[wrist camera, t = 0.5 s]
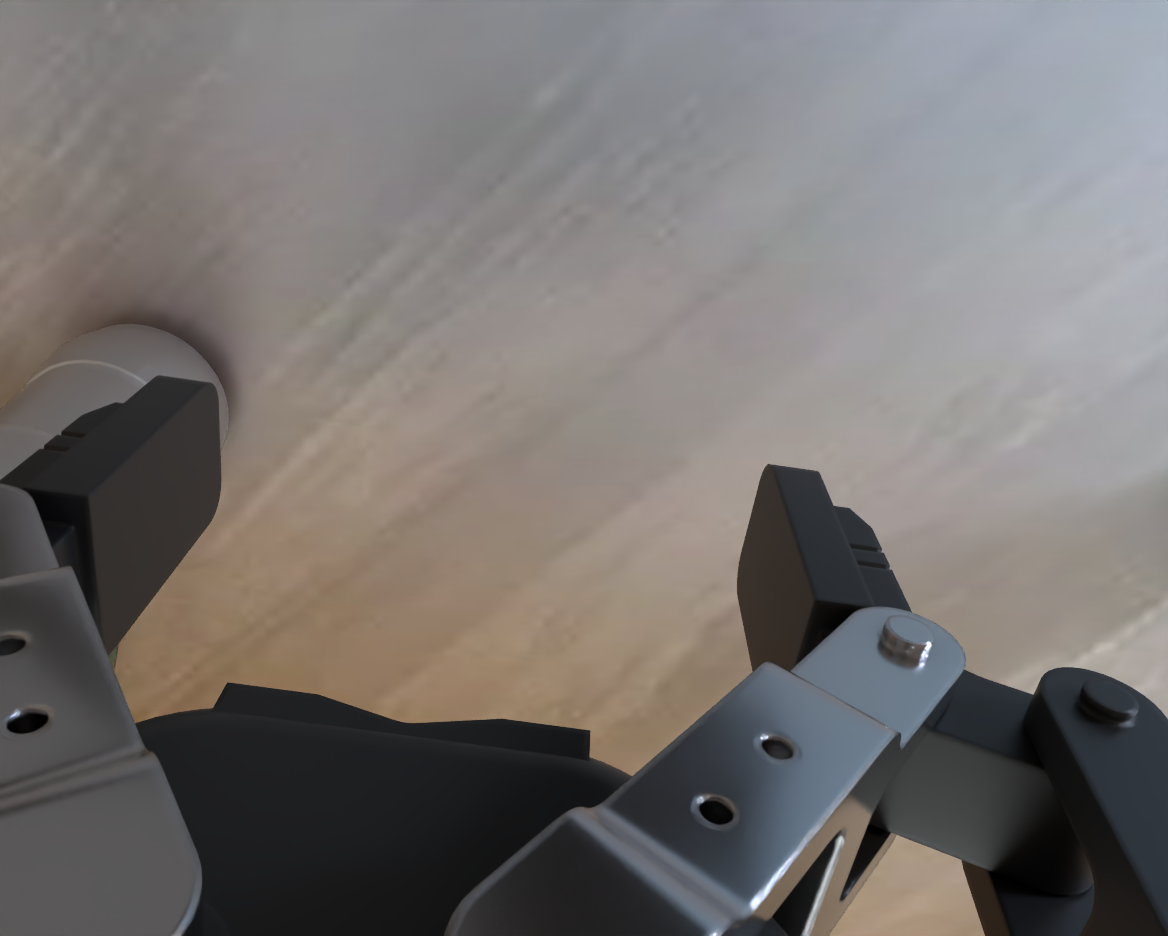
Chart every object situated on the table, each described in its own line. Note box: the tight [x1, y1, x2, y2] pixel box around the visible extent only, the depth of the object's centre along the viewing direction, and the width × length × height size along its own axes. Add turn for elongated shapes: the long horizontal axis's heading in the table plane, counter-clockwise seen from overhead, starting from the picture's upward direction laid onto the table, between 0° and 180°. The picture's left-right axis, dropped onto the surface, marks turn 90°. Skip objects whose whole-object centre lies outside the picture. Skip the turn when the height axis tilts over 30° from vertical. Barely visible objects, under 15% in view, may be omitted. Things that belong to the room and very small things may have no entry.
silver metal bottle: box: [0, 324, 229, 480], centre depth 27 cm, size 6×7×20 cm
